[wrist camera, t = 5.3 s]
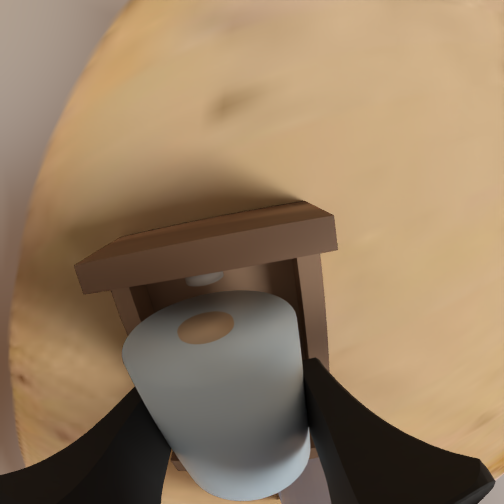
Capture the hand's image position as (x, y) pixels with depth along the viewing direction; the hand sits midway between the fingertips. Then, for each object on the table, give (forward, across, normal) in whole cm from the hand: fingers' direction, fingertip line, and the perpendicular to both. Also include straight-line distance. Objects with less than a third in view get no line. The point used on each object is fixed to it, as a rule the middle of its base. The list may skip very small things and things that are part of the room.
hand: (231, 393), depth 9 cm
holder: (+4, 0, 0) cm, 4 cm away
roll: (+2, 0, 0) cm, 2 cm away
